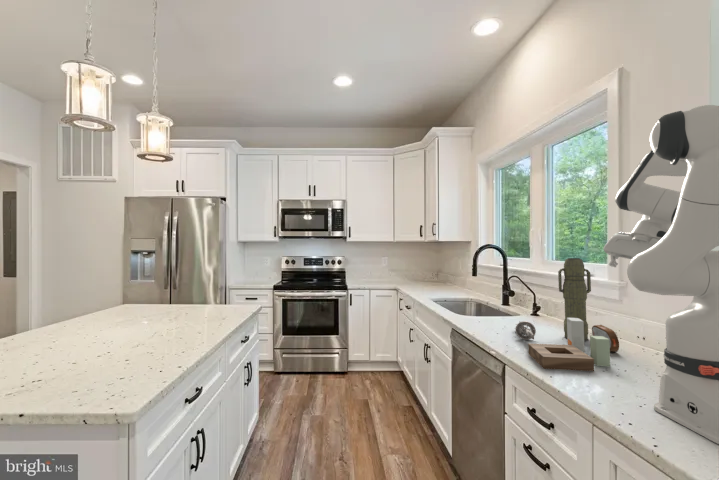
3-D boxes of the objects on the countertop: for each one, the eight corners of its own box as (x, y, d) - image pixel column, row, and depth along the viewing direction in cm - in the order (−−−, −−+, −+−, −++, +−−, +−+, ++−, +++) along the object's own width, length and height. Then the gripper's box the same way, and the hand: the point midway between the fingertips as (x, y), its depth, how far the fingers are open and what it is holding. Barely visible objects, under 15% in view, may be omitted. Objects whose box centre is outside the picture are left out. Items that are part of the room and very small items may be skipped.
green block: (610, 366, 108) (609, 339, 108) (597, 365, 109) (596, 338, 109) (603, 362, 112) (602, 336, 112) (590, 361, 113) (589, 335, 113)
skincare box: (567, 347, 129) (566, 317, 129) (579, 348, 128) (578, 317, 128) (572, 352, 123) (571, 320, 123) (585, 353, 122) (584, 321, 122)
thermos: (596, 341, 136) (593, 258, 137) (564, 340, 139) (562, 258, 140) (587, 336, 145) (584, 257, 145) (557, 334, 147) (555, 258, 148)
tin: (620, 354, 120) (619, 332, 120) (610, 354, 120) (610, 331, 120) (599, 343, 134) (598, 322, 134) (590, 342, 135) (589, 322, 135)
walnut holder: (594, 371, 104) (593, 358, 104) (543, 368, 107) (543, 356, 107) (572, 355, 119) (571, 345, 119) (528, 354, 121) (528, 343, 122)
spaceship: (518, 330, 126) (538, 323, 124) (507, 320, 159) (524, 314, 157) (527, 350, 124) (548, 343, 122) (515, 336, 157) (531, 330, 155)
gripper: (611, 226, 119) (591, 258, 119) (679, 235, 100) (656, 272, 100) (620, 235, 122) (600, 266, 121) (688, 245, 102) (665, 282, 102)
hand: (626, 269), depth 110 cm, fingers open, 8 cm apart
